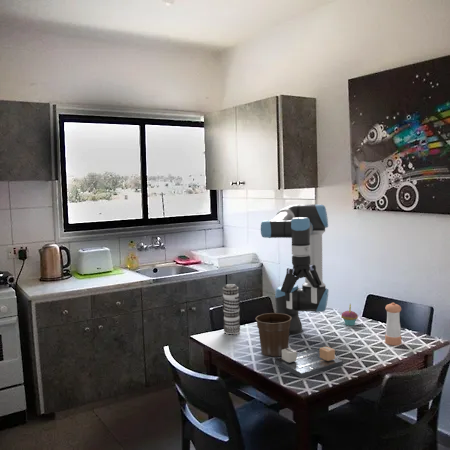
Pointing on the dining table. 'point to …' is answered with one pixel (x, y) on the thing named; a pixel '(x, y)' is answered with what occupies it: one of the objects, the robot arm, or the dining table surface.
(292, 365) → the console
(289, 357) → the fader
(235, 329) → the decorative candle
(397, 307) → the pepper shaker
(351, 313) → the cupcake
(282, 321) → the plant pot
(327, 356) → the fader
